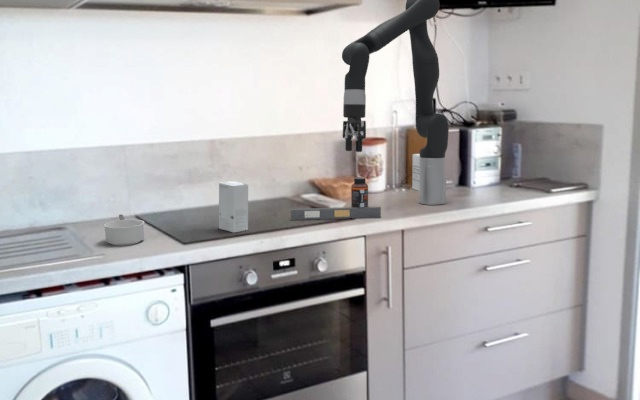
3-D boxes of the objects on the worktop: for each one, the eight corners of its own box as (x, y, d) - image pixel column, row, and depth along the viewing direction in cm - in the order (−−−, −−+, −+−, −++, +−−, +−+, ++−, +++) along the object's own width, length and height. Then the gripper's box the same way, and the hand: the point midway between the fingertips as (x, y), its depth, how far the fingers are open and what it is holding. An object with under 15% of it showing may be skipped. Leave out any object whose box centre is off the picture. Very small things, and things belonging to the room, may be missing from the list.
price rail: (380, 216, 216) (380, 206, 215) (380, 217, 214) (380, 207, 213) (290, 219, 214) (290, 209, 213) (291, 220, 212) (290, 210, 211)
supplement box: (430, 187, 274) (431, 152, 272) (441, 190, 266) (441, 154, 263) (411, 188, 272) (411, 153, 269) (421, 192, 263) (421, 155, 260)
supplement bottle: (366, 211, 226) (366, 179, 224) (350, 210, 227) (350, 179, 225) (369, 207, 232) (369, 176, 230) (352, 207, 233) (352, 176, 231)
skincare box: (218, 229, 201) (216, 182, 198) (234, 226, 205) (232, 180, 202) (234, 233, 195) (232, 185, 192) (250, 230, 199) (248, 182, 196)
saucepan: (141, 230, 201) (139, 212, 200) (147, 244, 183) (146, 225, 182) (102, 233, 197) (101, 216, 196) (105, 248, 179) (104, 229, 178)
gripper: (373, 103, 212) (372, 152, 214) (356, 104, 225) (355, 150, 227) (352, 102, 209) (351, 152, 211) (336, 103, 223) (335, 150, 224)
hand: (353, 151), depth 219 cm, fingers open, 8 cm apart
